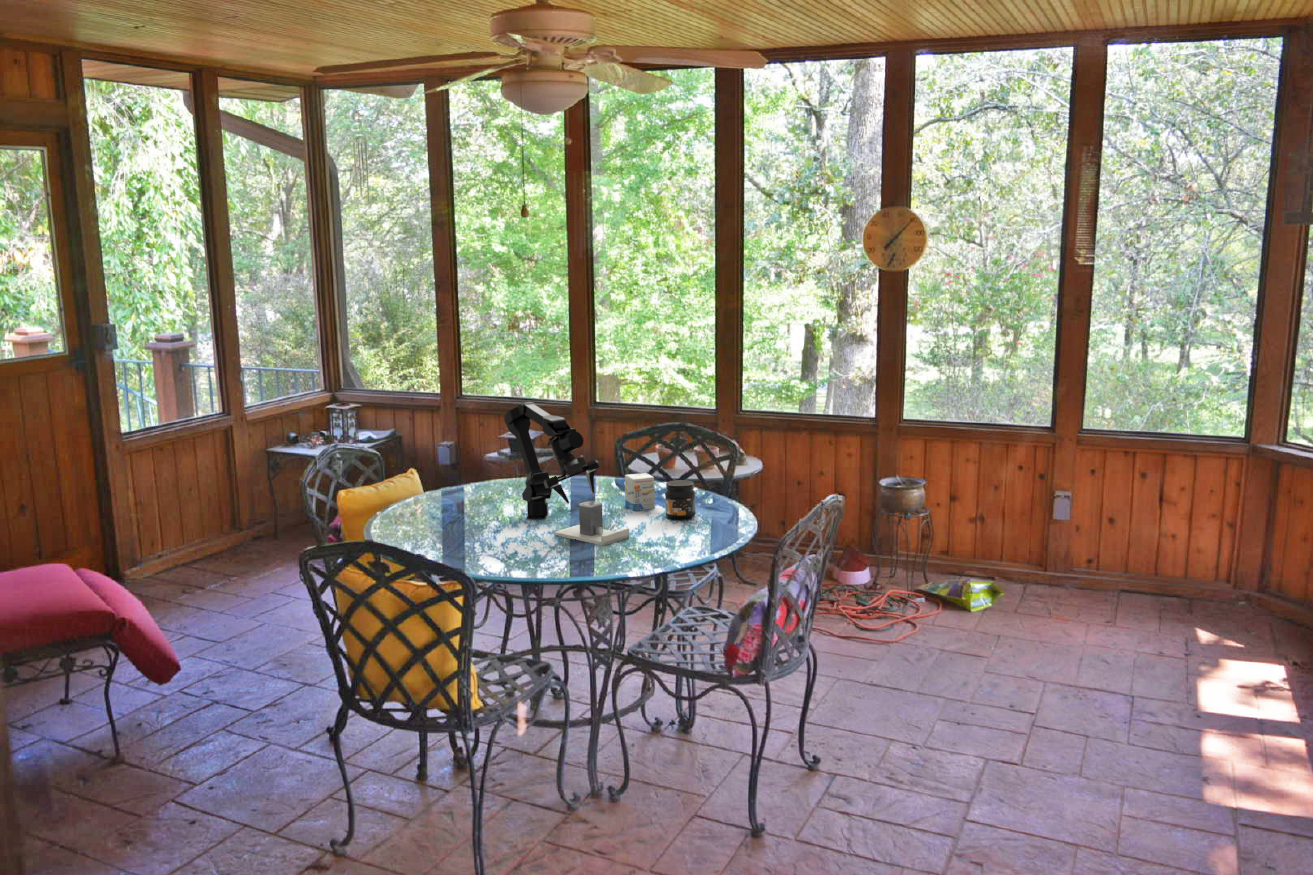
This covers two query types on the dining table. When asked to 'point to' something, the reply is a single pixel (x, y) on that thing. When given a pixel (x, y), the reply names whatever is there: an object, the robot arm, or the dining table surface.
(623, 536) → the tray
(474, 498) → the dining table surface
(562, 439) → the robot arm
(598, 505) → the block
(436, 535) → the dining table surface
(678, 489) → the supplement container
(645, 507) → the ink box
